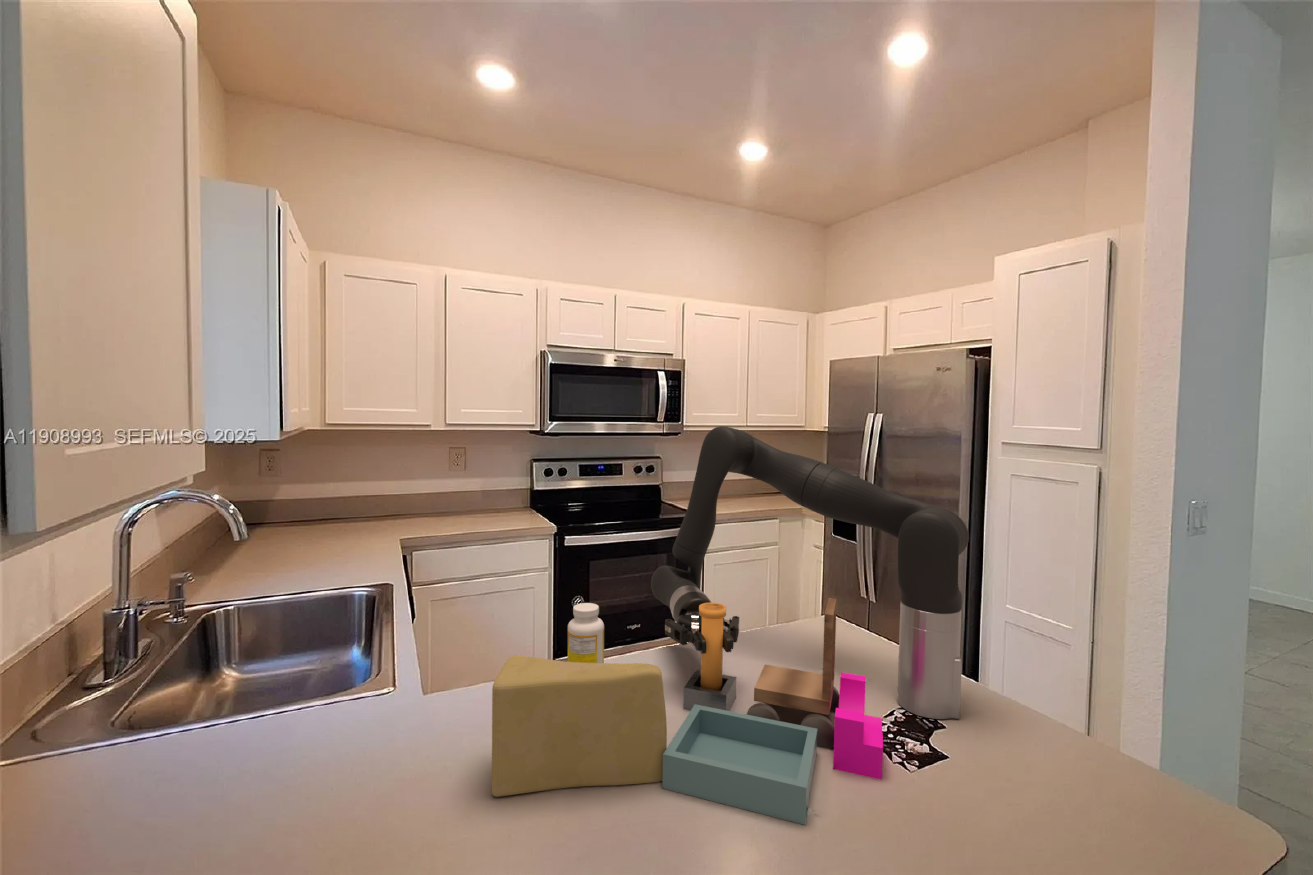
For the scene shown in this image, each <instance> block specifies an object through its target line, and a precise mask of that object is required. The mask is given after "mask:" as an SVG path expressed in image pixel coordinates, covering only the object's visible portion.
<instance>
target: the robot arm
mask: <svg viewBox="0 0 1313 875" xmlns="http://www.w3.org/2000/svg"><path fill="white" fill-rule="evenodd" d="M728 473H733V474H739V475H742V476H747V477H749V478H753V479H756V480H758V481H761V482H764V483H766V484H768V485H769V486H771V487H773V488H774V489H775V490H777V491H779V493H781V494H782V495H784V496H785V497H786V498H788V499H789V500H791V501H792V502H793V503H796V504H798V505H799V506H801V507H803V508H806V509H808V510H810V511H812V512H815V513H816V514H818V515H821V516H824V517H826V518H829V519H833V520H837V521H841V522H844V523H848V524H854V525H857V526H858V525H859V526H864V527H867V528H872V529H876V530H878V531H881V532H884V533H886V534H888V535H890V536H892V537H893V538H894V537H895V538H896V539H897V583H898V587H899V590H900V606H899V608H900V610H899V611H900V612H899V613H900V615H899V633H898V634H899V637H898V639H899V640H898V663H897V664H898V668H897V670H898V671H897V687H896V688H897V690H896V691H897V693H896V694H897V696H896V697H897V698H896V701H897V703H898V704H899V706H900V707H902V708H903V709H904V710H906V711H907V712H910V713H912V714H914V715H916V716H920V717H922V718H923V717H924V718H927V719H934V720H935V719H936V720H947V719H957V720H960V716H961V715H960V714H961V692H962V691H961V690H962V671H963V670H962V668H963V666H962V664H963V660H962V658H961V653H960V652H961V635H962V634H961V631H962V606H963V604H962V603H963V595H962V592H961V591H960V586H959V568H960V567H959V564H960V563H959V562H960V561H959V560H960V555H961V554H962V553H963V552H964V551H965V550H966V548H967V546H968V543H969V540H970V533H969V529H968V527H967V525H966V523H965V521H964V520H963V519H962V518H961V517H960V515H958V514H956V513H955V512H954V511H952V510H950V509H948V508H946V507H943V506H940V505H939V506H938V505H934V504H931V503H927V502H923V501H921V500H916V499H914V498H910V497H906V496H902V495H899V494H897V493H894V492H891V491H889V490H887V489H885V488H882V487H880V486H879V485H876V484H874V483H872V482H870V481H868V480H865V479H863V478H860V476H859V477H858V476H856V475H854V474H852V473H849V472H847V471H845V470H843V469H840V468H838V467H835V466H832V465H830V464H827V463H825V462H822V461H820V460H817V459H814V458H811V457H808V456H807V457H806V456H803V455H799V454H796V453H792V452H791V453H790V452H788V451H787V452H786V451H783V450H781V449H778V448H776V447H774V446H771V445H770V444H768V443H766V442H763V441H762V440H760V439H758V438H756V437H755V436H753V435H751V434H749V433H747V432H746V431H745V430H742V429H738V428H734V427H729V426H723V425H722V426H716V427H714V428H712V429H711V430H710V431H708V433H707V434H706V435H705V437H704V439H703V441H702V445H701V448H700V453H699V458H698V462H697V466H696V471H695V476H694V479H693V484H692V489H691V492H690V498H689V502H688V505H687V509H686V511H685V514H684V517H683V520H682V523H681V525H680V527H679V530H678V532H677V534H676V538H675V541H674V544H673V546H672V550H671V552H672V555H673V556H674V558H676V559H677V560H679V561H681V562H682V563H684V564H685V565H687V566H688V569H687V570H684V569H680V568H676V567H674V566H671V565H666V564H665V565H660V566H659V567H657V568H656V569H655V570H654V572H653V574H652V575H651V579H650V588H651V592H652V594H653V596H654V597H655V598H656V599H657V600H658V601H659V602H661V604H664V605H665V606H667V607H669V610H670V613H671V616H672V618H673V619H674V620H673V619H671V618H667V619H665V621H664V635H665V636H667V637H668V638H669V639H671V640H673V641H675V642H677V643H678V644H679V645H682V646H686V645H688V643H690V644H691V646H693V647H694V648H695V650H696V651H698V652H700V655H701V654H706V639H705V638H704V636H703V635H702V633H701V630H702V616H700V615H699V605H701V604H703V603H713V602H712V601H711V599H710V598H709V597H708V595H707V594H706V593H705V592H703V591H702V590H701V579H702V570H703V564H704V559H705V556H706V554H707V552H708V549H709V546H710V543H711V541H712V539H713V536H714V533H715V529H716V523H717V522H716V521H717V506H718V497H719V493H720V491H721V487H722V485H723V482H724V481H725V478H726V477H727V475H728ZM739 633H740V616H738V615H733V616H732V618H729V619H725V617H723V651H725V652H726V653H732V650H733V649H734V643H737V642H738V638H739Z"/></svg>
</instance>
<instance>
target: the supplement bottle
mask: <svg viewBox="0 0 1313 875" xmlns="http://www.w3.org/2000/svg"><path fill="white" fill-rule="evenodd" d="M572 612H573V613H572V614H573V617H574V618H572V619H571V620H569V622H568V624H567V662H578V663H605V624H604V622H603V620H602V619H601V618H599V617H598V616H599V614H600V606H599V605H598V604H596V603H592V602H583V603H577V604H576V605H574V606H573V608H572Z"/></svg>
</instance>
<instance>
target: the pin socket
mask: <svg viewBox="0 0 1313 875" xmlns="http://www.w3.org/2000/svg"><path fill="white" fill-rule="evenodd" d="M736 698H737V676H734V675H733V676H732V675H727V674H722V690H721V691H718V690H713V689H707V688H702V687H701V669H700V670H699V669H695V671H694V672H693V674H692V675H691V677H690V678H689V679H688V681H687V682H686V684H685V685H684V687H683V705H682V706H683V707H682V710H684V711H689V712H690V711H691V709H692V708H693V706H694V705H695V704H696V705H701V706H706V707H711V708H716V709H721V710H726V711H731V709H732V707H733V705H734V703H735V701H736Z"/></svg>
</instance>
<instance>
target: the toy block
mask: <svg viewBox="0 0 1313 875" xmlns="http://www.w3.org/2000/svg"><path fill="white" fill-rule="evenodd" d="M839 677H840V679H839V708H836V711H835V713H834V724H833V725H834V746H833V757H832V758H833V762H832V765H833V766H832V768H833V769H832V770H835V771H840V772H844V773H849V774H854V775H857V776H862V777H868V778H872V779H876V780H880V781H882V780H883V759H884V758H883V757H884V739H883V736H884V735H883V734H884V733H883V718H882V717H879V716H873V715H867V714H865V713H866V711H865V710H866V709H865V707H866V705H865V704H866V684H867V682H866V676H865V675H859V674H854V673H848V672H840V676H839Z"/></svg>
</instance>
